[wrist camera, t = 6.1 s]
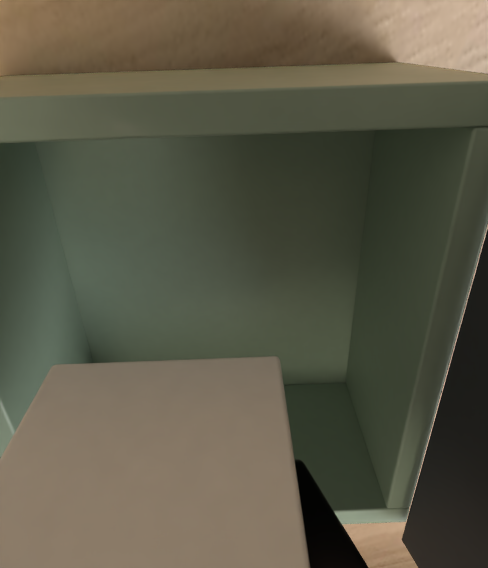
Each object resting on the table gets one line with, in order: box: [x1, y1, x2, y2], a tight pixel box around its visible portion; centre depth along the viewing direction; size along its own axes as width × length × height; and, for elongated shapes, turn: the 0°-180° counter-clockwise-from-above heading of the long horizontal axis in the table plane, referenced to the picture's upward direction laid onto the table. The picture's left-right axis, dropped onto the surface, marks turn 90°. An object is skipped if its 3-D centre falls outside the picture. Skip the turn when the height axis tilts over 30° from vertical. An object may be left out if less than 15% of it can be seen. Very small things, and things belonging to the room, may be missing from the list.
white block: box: [0, 356, 310, 568], centre depth 8 cm, size 4×4×4 cm
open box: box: [0, 62, 488, 524], centre depth 14 cm, size 13×14×7 cm
